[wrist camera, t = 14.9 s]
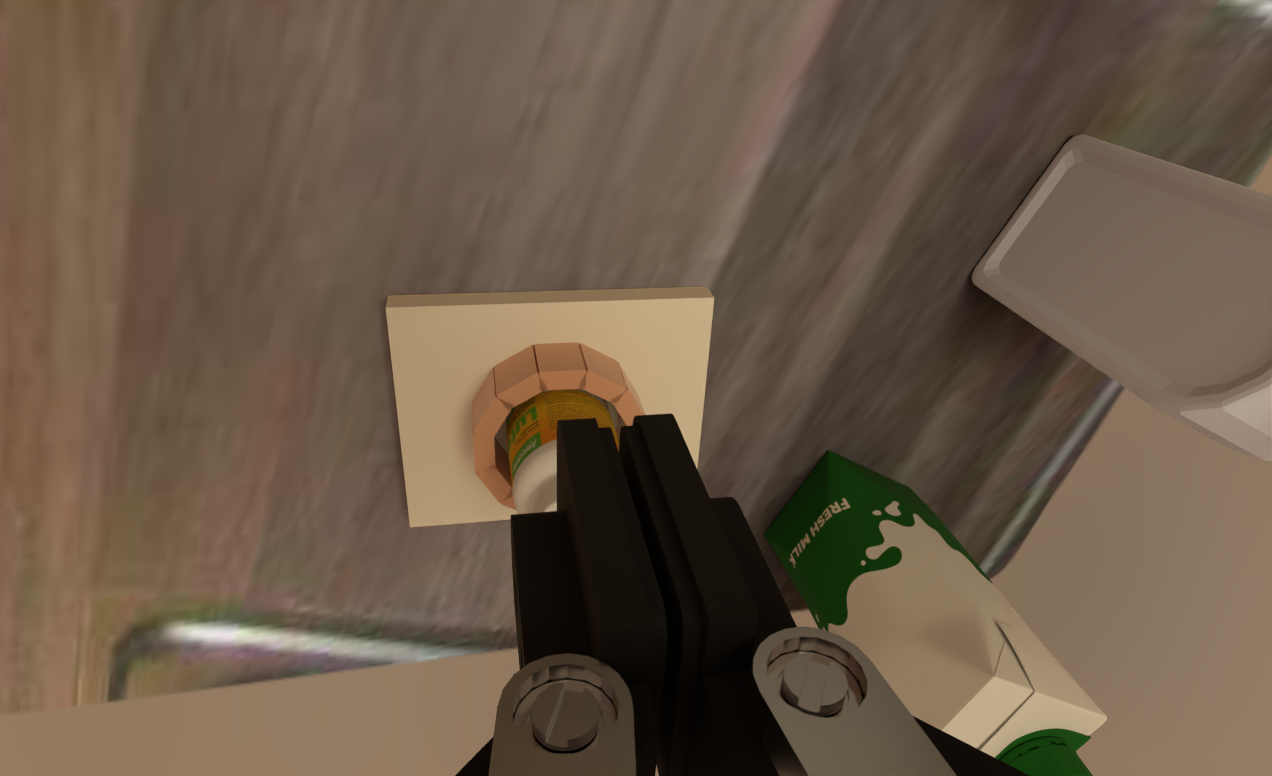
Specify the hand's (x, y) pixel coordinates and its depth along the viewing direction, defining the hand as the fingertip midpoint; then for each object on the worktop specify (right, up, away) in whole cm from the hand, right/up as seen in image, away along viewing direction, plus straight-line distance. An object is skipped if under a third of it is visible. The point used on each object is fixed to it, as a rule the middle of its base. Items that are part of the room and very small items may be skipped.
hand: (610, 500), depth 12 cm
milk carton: (+13, -6, +40) cm, 42 cm away
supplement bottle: (-4, 0, +31) cm, 31 cm away
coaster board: (-4, +1, +32) cm, 32 cm away
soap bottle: (+24, +10, +33) cm, 42 cm away
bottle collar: (-4, 0, +31) cm, 31 cm away
